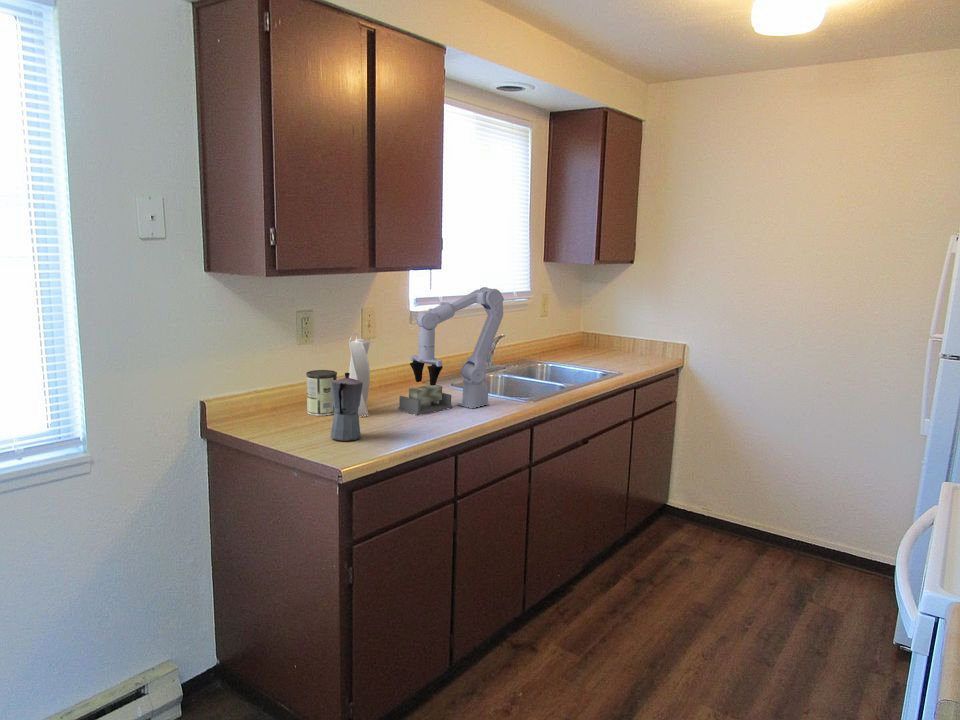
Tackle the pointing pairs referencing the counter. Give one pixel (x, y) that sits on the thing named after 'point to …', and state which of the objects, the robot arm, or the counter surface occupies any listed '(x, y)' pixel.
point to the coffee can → (320, 392)
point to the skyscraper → (360, 369)
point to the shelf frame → (424, 405)
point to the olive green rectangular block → (426, 393)
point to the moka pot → (346, 408)
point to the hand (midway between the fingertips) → (425, 383)
